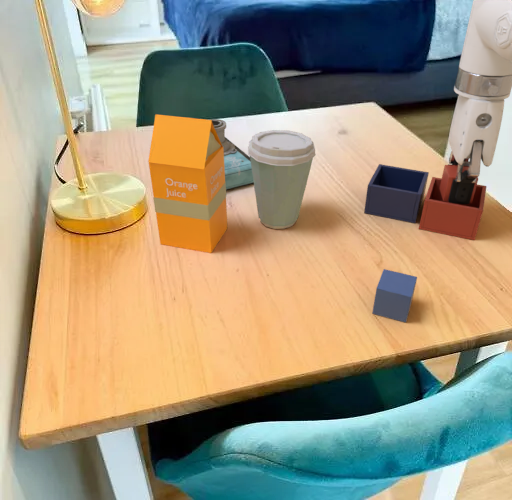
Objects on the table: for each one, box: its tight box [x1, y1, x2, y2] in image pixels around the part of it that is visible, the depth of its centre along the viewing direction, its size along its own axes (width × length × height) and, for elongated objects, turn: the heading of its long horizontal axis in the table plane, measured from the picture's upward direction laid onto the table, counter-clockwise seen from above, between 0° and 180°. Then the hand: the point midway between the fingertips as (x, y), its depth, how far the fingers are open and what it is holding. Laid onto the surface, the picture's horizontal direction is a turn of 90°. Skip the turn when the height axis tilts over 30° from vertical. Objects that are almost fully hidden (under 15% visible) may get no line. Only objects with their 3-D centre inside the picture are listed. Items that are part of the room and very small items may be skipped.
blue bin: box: [363, 163, 429, 224], centre depth 88 cm, size 9×9×6 cm
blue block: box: [372, 268, 418, 323], centre depth 66 cm, size 4×4×4 cm
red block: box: [439, 164, 479, 203], centre depth 81 cm, size 4×4×4 cm
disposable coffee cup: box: [247, 129, 316, 230], centre depth 82 cm, size 11×11×15 cm
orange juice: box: [147, 113, 229, 254], centre depth 77 cm, size 8×9×20 cm
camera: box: [209, 118, 254, 190], centre depth 98 cm, size 16×10×10 cm
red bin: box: [418, 176, 487, 241], centre depth 84 cm, size 9×9×6 cm
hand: (455, 193), depth 82 cm, fingers closed on red block, 4 cm apart
